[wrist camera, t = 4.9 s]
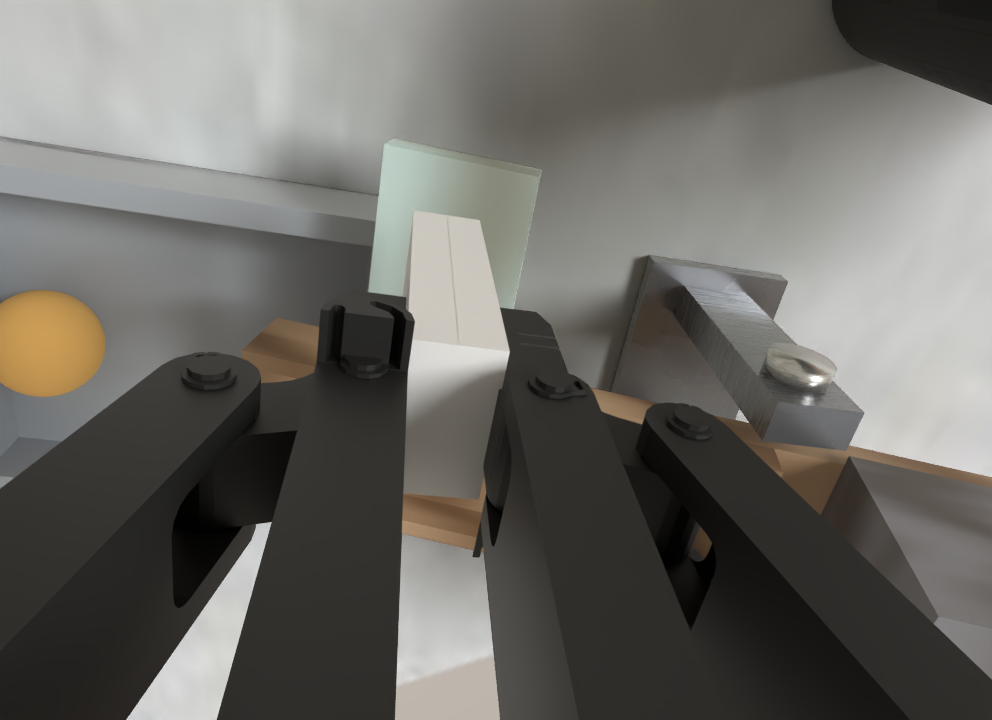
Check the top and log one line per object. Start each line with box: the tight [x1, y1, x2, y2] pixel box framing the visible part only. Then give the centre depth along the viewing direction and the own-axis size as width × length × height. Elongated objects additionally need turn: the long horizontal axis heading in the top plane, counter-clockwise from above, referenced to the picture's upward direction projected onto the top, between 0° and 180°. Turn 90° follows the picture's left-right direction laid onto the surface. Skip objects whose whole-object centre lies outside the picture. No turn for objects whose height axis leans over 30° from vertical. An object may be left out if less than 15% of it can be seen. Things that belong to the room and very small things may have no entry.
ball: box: [0, 290, 106, 397], centre depth 23 cm, size 3×3×3 cm
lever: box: [242, 138, 992, 679], centre depth 18 cm, size 24×11×7 cm, turn 80°
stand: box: [610, 255, 864, 451], centre depth 24 cm, size 5×10×9 cm, turn 170°
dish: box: [0, 137, 378, 488], centre depth 24 cm, size 14×12×3 cm
